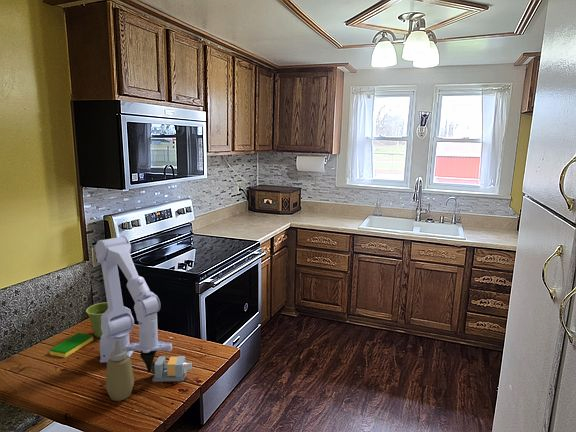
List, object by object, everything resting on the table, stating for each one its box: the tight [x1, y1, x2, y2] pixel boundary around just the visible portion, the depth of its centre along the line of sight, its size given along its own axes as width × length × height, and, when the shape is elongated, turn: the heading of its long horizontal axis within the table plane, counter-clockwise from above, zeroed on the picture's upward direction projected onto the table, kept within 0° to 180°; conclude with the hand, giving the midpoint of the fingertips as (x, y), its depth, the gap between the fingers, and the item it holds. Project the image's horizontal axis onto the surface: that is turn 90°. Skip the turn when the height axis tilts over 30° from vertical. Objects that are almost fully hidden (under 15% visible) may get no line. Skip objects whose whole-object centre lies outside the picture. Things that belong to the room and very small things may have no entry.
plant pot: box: [85, 301, 108, 339], centre depth 158 cm, size 12×12×11 cm
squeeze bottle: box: [105, 340, 135, 402], centre depth 119 cm, size 8×8×18 cm
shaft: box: [151, 360, 193, 373], centre depth 131 cm, size 12×3×3 cm, turn 95°
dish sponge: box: [49, 332, 94, 358], centre depth 149 cm, size 7×14×2 cm, turn 164°
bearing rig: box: [152, 355, 188, 383], centre depth 131 cm, size 10×6×6 cm, turn 95°
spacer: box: [167, 356, 178, 376], centre depth 131 cm, size 3×5×4 cm, turn 5°
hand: (149, 370), depth 131 cm, fingers closed
